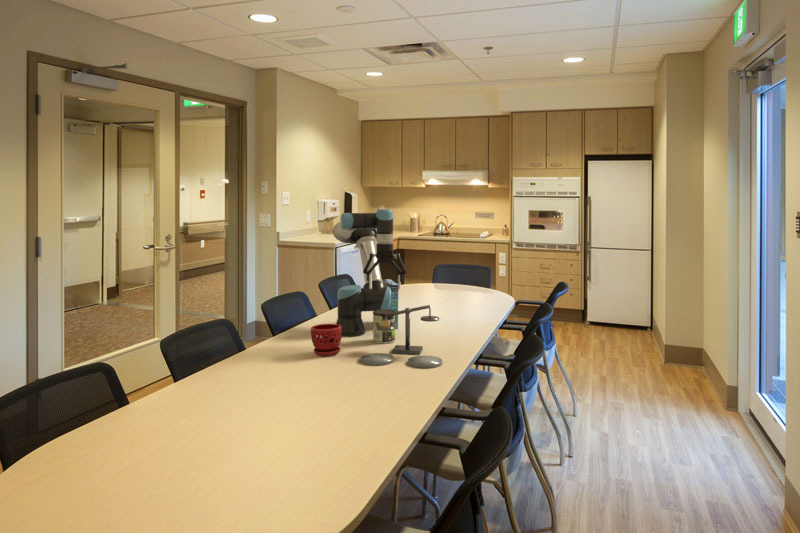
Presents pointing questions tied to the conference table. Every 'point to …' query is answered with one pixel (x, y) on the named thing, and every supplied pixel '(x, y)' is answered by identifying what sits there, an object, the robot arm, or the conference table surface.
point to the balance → (406, 329)
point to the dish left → (377, 359)
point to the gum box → (393, 298)
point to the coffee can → (383, 336)
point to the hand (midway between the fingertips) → (385, 288)
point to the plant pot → (326, 339)
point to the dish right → (425, 361)
